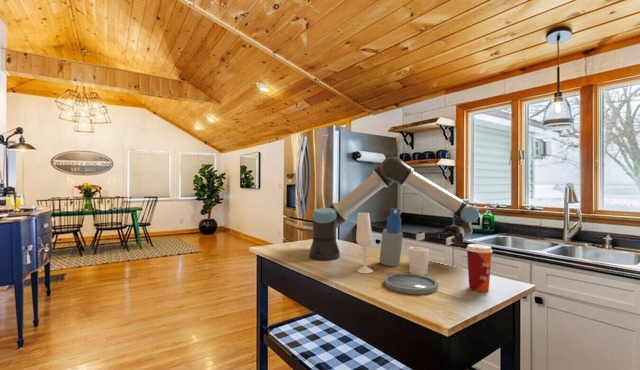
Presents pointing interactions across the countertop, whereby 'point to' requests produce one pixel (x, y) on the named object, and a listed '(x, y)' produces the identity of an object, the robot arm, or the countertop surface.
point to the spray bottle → (392, 240)
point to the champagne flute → (364, 237)
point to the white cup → (418, 260)
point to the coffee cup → (479, 266)
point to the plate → (411, 283)
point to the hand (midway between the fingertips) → (431, 239)
